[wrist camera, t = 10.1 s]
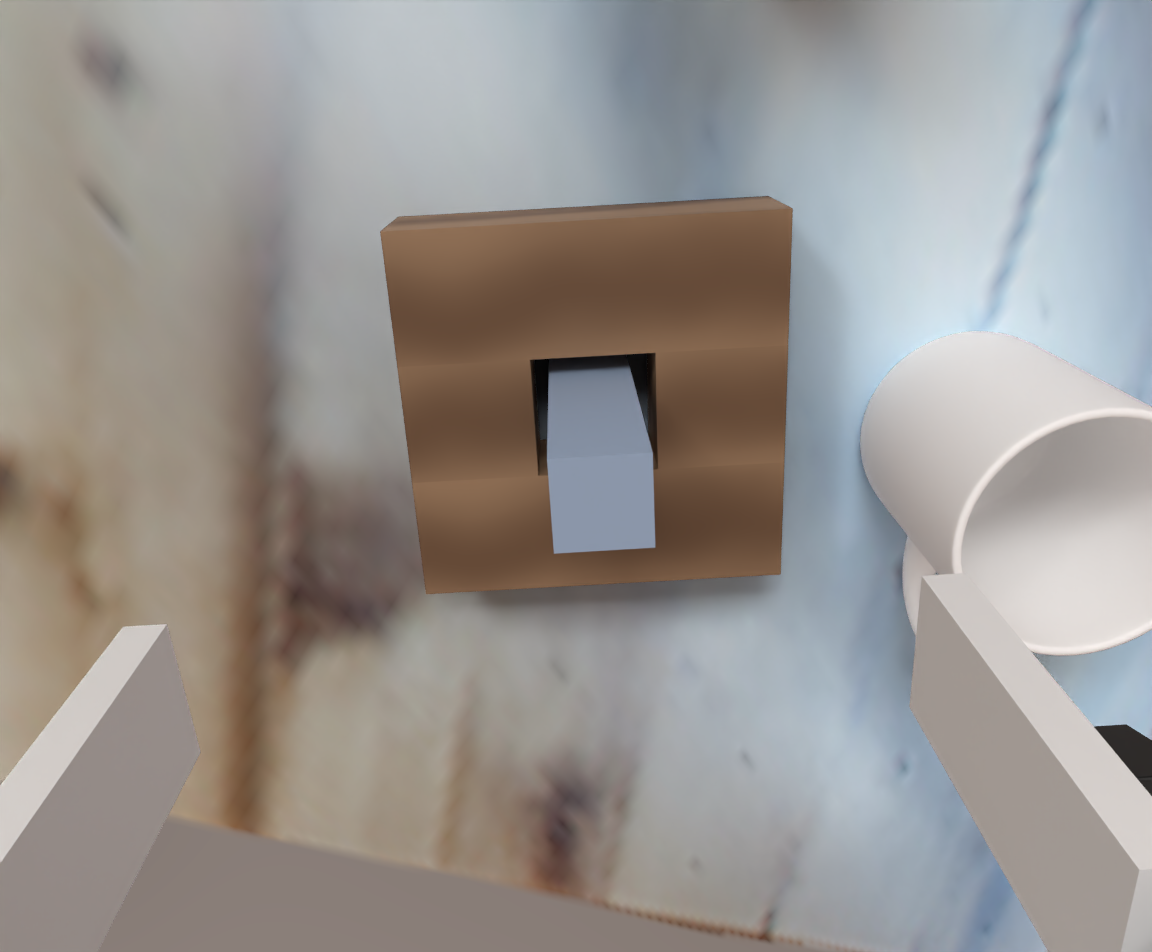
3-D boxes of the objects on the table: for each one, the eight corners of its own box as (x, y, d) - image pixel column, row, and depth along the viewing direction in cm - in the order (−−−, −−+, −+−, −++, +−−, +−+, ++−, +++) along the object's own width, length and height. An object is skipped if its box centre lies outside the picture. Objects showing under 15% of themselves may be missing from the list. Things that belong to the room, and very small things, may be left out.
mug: (789, 556, 42) (863, 702, 32) (908, 297, 38) (1035, 372, 28) (965, 608, 43) (1088, 763, 33) (1099, 362, 39) (1286, 456, 29)
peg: (549, 350, 38) (547, 459, 27) (624, 346, 38) (652, 452, 27) (554, 421, 39) (553, 553, 28) (627, 417, 39) (655, 547, 28)
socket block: (398, 216, 36) (380, 231, 32) (768, 196, 36) (792, 208, 32) (437, 548, 41) (426, 593, 38) (760, 530, 41) (780, 574, 38)
